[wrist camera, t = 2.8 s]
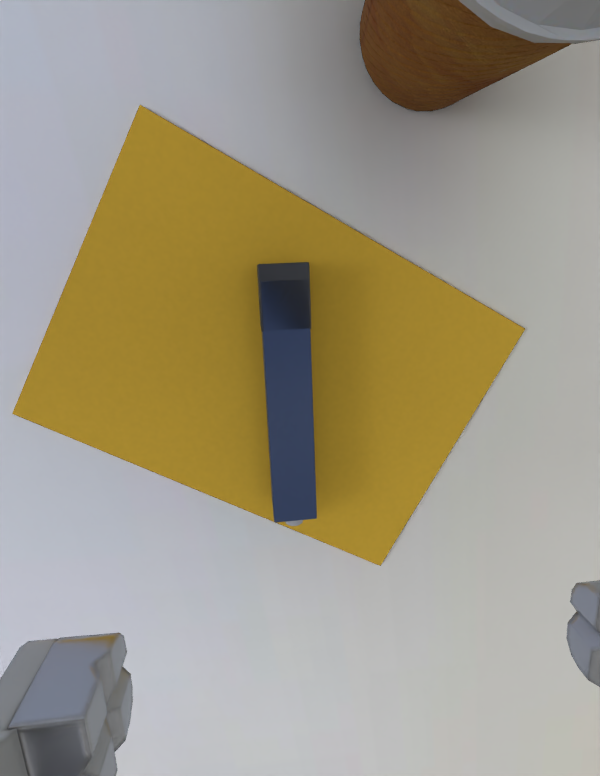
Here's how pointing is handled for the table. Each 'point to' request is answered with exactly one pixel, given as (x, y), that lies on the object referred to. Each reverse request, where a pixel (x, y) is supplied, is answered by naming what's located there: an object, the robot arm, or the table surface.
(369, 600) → the table surface
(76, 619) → the table surface
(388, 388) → the cloth
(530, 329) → the table surface
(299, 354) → the tall navy blue post
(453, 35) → the disposable coffee cup
